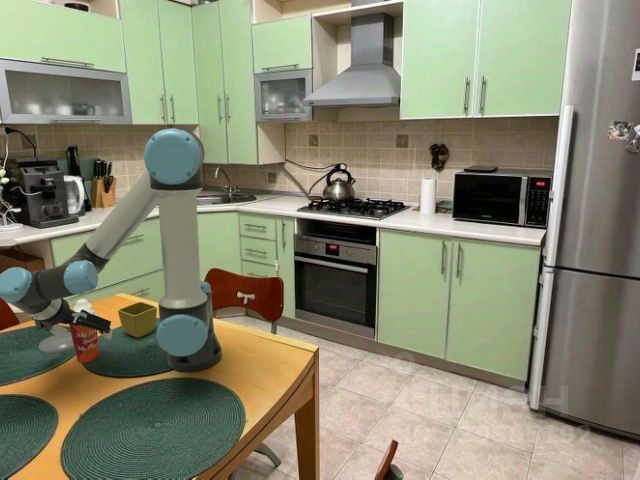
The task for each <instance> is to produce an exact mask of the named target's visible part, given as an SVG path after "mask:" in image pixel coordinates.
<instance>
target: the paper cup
mask: <svg viewBox="0 0 640 480" xmlns="http://www.w3.org/2000/svg"><path fill="white" fill-rule="evenodd" d="M81 310H85V311H87V312H89V313H91V314H93V315H96V316H98V314H97V312H96V311H95V310H94V309H93V308H92V309H81ZM81 310H77V311H75V312H78V313H80V311H81ZM76 319H77V318H75V320H74V321H73V322H74V323H75V322H76ZM68 326H69V330H70V331H69V332H71V335H72V340H73V344H74V351H75V356H76V359H77V362H79V363H90V362H93V361H95V360H97V359H98V358H99V357H100V356H99V354H100V353H99V340H98V339H99V338H98V330H95V329H91V328H87V327H84V326H80V325H78V326H72V325H69V324H68Z"/></svg>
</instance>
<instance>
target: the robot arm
mask: <svg viewBox="0 0 640 480" xmlns="http://www.w3.org/2000/svg"><path fill="white" fill-rule="evenodd" d="M205 154H206V152H205V147H204V144H203V142H202V141H201V139H200V138H199V137H198V136H197V135H196V134H195V133H194V132H192V131H190V130H187V129H185V128H175V127H172V128H164V129H161V130H160V131H157V132H155V133H154V134H153V135H152V136H151V137H150V138H149V139H148V141H147V143H146V144H145V148H144V151H143V161H144V166H145V168H146V170H145V171H144V172H143V174H141V176H140V177H139V178H138V180H137V181H136V182H135V183H134V184H133V186H132V187H131V188H130V189H129V190H128V191H127V193H126V194H125V195H124V196H123V197H122V198H121V199H120V201H119V202H118V203H117V204H116V206H115V207H114V208H113V209H112V210H111V211H110V213H108V215H107V216H106V217H105V218H104V220H103V221H102V222H101V223H100V224H99V226H98V227H97V228H96V229H95V230H94V231H93V232H92V234H91V235H90V236H89V238H87V239H86V241H85V242H84V243H83V244H82V245H81V246H80V247H79V249H78V250H77V251H76V252H75V254H73V255H72V256H71V257H69V258H68V259H67V260H66V261H64V262H63V263H62V264H60V265H57V266H54V267H50V268H46V269H41V270H37V271H33V272H30V271H29V270H27V269H24V268H23V267H18V266H17V267H10V268H8V269H6V270H5V271H3V272H2V273H0V298H1V299H2V300H4V301H5V302H6V303H7V304H10V305H12V306H14V307H15V308H17V309H19V310H20V311H22V312H23V313H26V314H27V315H28V316H29V317H31V320H32V321H33V322H34V324H35V328H36V330H37V331H42V330H43V329H44V331H46V332H49V333H52V334H53V335H57V336H58V337H60V338H62V339H65V337H66V334H67V332H69V331H68V329H67V328H65V327H64V326H62V325H68V326H69V325H72V326H78V325H80V326H84V327H87V328H91V329H95V330H97V333H99V334H100V335H101V336H103V337H104V338H105V339H107V340H112V336H113V335H112V334H113V332H114V330H113V328H111V325H112V320H108V319H106V318H103V317H101V316H98V315H97V316H96V315H93V314H91V313H89V312H87V311H85V310H81V311H80V313H78V312H75V311H73V309H71V306H70V304H69V303H68V301H67V300H66V298H68V297H73V296H77V295H78V296H79V295H83V294H85V293H87V292H91V291H94V290H95V289H96V288H97V287H98V282H99V274H100V273H101V272H102V271H103V270H104V269H105V267H106V265H107V264H108V263H109V262H110V261H111V259H112V258H113V257H114V255H116V254H117V252H118V251H119V250H120V249H121V248H122V247H123V245H124V244H125V243H126V242H127V241H128V240H129V238H130V237H131V236H132V235H133V234H134V233H135V232H136V230H137V229H138V228H139V227H140V226H141V225H142V224H143V222H144V221H145V220H146V219H147V217H148V216H149V215H150V214H151V213H152V212H153V211H154V210H155V208H156V207H157V206H158V217H159V231H160V232H159V235H160V246H161V262H162V264H161V265H162V275H163V276H162V278H163V279H162V281H163V294H162V295H161V296H160V297H159V298H158V315H159V316H158V317H159V324H158V326H157V329H156V340H157V343H158V345H159V346H160V348H161V350H163V351H165V352H166V353H167V356H166V357H167V358H166V359H167V365H168V366H169V367H170V369H172V370H174V371H177V372H183V373H184V372H185V373H193V372H194V373H195V372H199V371H203V370H206V369H208V368H209V369H210V368H211V367H213V366H215V365H216V364H218V363H220V360H221V359H222V356H223V352H222V350H223V349H222V346H221V344H220V341H219V339H218V337H217V335H216V333H215V329H214V328H215V327H214V326H215V325H214V313H213V304H212V303H213V302H212V301H213V300H212V293H213V291H212V289H211V284H209V282H208V281H202V280H201V268H200V266H201V265H200V250H199V248H200V246H199V243H200V242H199V225H198V203H197V202H198V200H197V197H198V194H199V193H200V192H201V191H202V190H203V189H204V187H203V186H204V185H203V163H204V160H205ZM75 318H77V319H76V322H75V323H74V322H73V321H74V320H75ZM61 324H62V325H61Z"/></svg>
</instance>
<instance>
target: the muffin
mask: <svg viewBox="0 0 640 480" xmlns="http://www.w3.org/2000/svg"><path fill="white" fill-rule="evenodd" d="M81 309H92V310H93V305H92V303H90V302H89V301H88V299H86V298H80V299H78V300H77V301H76V302H75V306H73V307H72V310H73V311H77V310H81Z"/></svg>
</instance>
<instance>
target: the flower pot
mask: <svg viewBox="0 0 640 480" xmlns="http://www.w3.org/2000/svg"><path fill="white" fill-rule="evenodd" d="M157 307H158V306H155V305H153V304H149V303H147V302H144V301H137V302H135V303H132V304H130V305H127V306H125V307H122V308H119V309H117V313H118V317H119V321H120V324H121V326H122V328H123V329H124V331H125V332H126V333H127V334H128V335H130V336H133V337H135V338H136V339H139V338H142V337H144V336H146V335H149V334H150V333H152V332H153V330H154V328H155V327H156V322H157V315H158V312H157V311H158V308H157Z"/></svg>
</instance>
